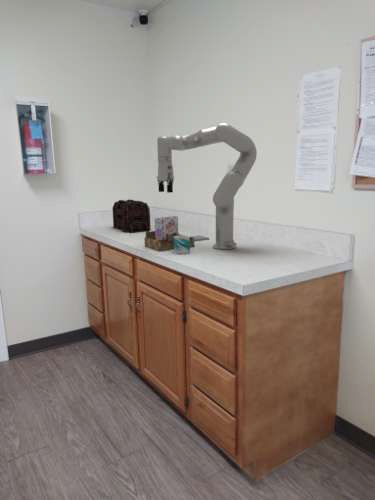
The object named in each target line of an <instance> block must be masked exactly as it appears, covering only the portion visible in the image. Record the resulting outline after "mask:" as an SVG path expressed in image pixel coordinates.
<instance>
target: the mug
mask: <svg viewBox="0 0 375 500" xmlns="http://www.w3.org/2000/svg"><path fill="white" fill-rule="evenodd" d="M190 237H191V236H190V235H185V236H175V237H174V254H175V253H176V255H188V254H190V253H191V252H190V250H191V249H190V248H191V247H190ZM187 253H188V254H187Z"/></svg>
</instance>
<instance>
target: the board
mask: <svg viewBox="0 0 375 500" xmlns="http://www.w3.org/2000/svg"><path fill="white" fill-rule="evenodd" d="M190 237H193V238H194V242H200V241H207V240H210V237H207V236H202V235H191V236H190Z"/></svg>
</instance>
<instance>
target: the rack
mask: <svg viewBox="0 0 375 500" xmlns="http://www.w3.org/2000/svg"><path fill="white" fill-rule="evenodd" d="M178 235H181V236H186V235H184V234H180V233H178ZM189 237H190V248H194V247H195V241H194V238H193V237H191V236H189ZM143 238H144V247H147V248H148V249H152V250H154V251H157V252H165V251H166V250H167V251H173V249H174V244H168V245H166V244H165V243H167V239H165V240H155V230H150V231H149V232H145V237H143Z"/></svg>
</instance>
